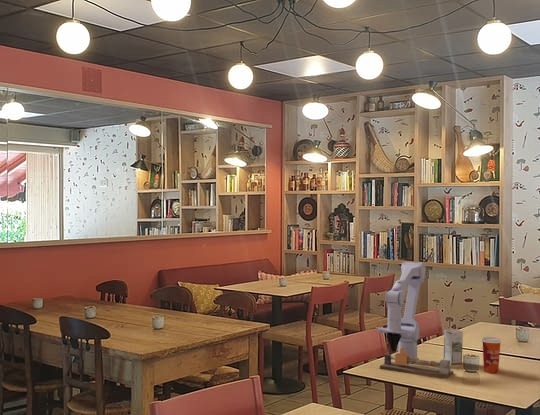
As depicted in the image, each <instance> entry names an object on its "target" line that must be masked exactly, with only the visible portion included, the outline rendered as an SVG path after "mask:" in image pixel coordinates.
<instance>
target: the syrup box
mask: <svg viewBox="0 0 540 415" xmlns="http://www.w3.org/2000/svg"><path fill="white" fill-rule="evenodd" d="M443 335H444V338H443V339H444V340H443V359H446V360H450V365H461V364H463V341H464V339H463V338H464V331H463V330H460V329H458V328H452V329H451V328H449V329H446V328H445V329H444V334H443Z"/></svg>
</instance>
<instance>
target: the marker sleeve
mask: <svg viewBox="0 0 540 415" xmlns="http://www.w3.org/2000/svg"><path fill="white" fill-rule="evenodd" d="M394 356H395V360H394V362H395V364H401V365H408V364H410V365H411V363H410V362H408V361H407V358H410V354H405V348H401V349H400V353H395V355H394Z"/></svg>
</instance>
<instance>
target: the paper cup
mask: <svg viewBox="0 0 540 415" xmlns="http://www.w3.org/2000/svg"><path fill="white" fill-rule="evenodd" d="M481 342H482V358H483V360H482V361H483V372H484V373H487V374H498V373H499V367H500V366H499V364H500V354H501V343H502V341H501V339H500V337H495V336H483V338H482V339H481Z"/></svg>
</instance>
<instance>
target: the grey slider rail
mask: <svg viewBox="0 0 540 415" xmlns="http://www.w3.org/2000/svg"><path fill="white" fill-rule="evenodd" d="M392 360H394V361H392ZM407 361H408V362H413V363H417V364H423V365H430V366H433V367H429V366H422V365H416V364H411V363H410V364H408V365H401V364H395V355H392V354H391V353H386V354H384V362H383V364H381V365H379V369H380V370H387V371H392V372H393V371H394V372H399V373H405V374H413V375H420V376H426V377H431V378H432V377H433V378H438V379H445V380H446V379H448V378H449V377H451V376H452V375H454V370H452V369H451V364H450V360H446V359H444V358H443V359H441V360H439V361H435V360H431V361H430V360H424V359H419V360H418V359H411V358H407ZM435 366H437V367H439V368H435Z"/></svg>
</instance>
